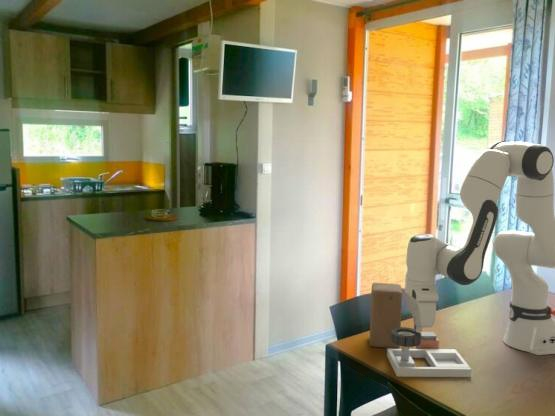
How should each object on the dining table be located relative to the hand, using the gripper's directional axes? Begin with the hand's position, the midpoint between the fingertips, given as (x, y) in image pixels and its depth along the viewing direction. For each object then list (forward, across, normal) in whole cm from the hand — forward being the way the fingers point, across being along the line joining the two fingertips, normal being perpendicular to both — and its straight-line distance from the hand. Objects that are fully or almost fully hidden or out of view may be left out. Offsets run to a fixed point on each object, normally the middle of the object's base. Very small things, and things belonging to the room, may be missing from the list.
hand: (417, 330), depth 161 cm
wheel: (+3, 0, -4) cm, 5 cm away
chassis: (+11, 0, +4) cm, 12 cm away
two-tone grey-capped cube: (+12, -11, +6) cm, 17 cm away
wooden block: (+12, -18, -6) cm, 22 cm away
